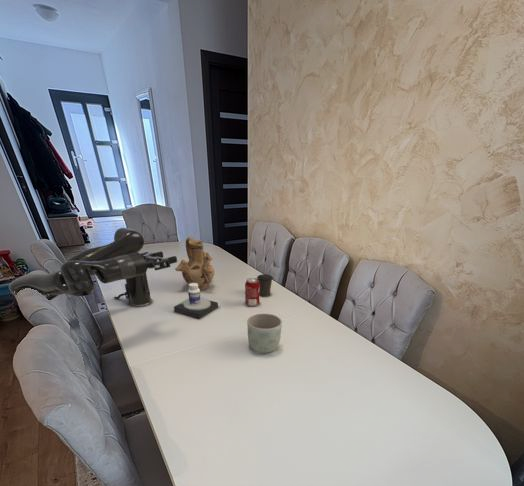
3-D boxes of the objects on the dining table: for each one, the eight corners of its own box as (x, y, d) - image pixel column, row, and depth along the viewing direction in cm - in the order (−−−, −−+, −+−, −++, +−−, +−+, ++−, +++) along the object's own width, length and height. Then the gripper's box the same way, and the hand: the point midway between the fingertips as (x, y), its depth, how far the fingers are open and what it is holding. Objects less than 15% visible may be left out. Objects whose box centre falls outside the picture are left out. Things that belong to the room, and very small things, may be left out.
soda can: (257, 307, 144) (258, 283, 137) (243, 306, 145) (243, 281, 138) (260, 302, 149) (261, 278, 143) (247, 300, 150) (247, 276, 144)
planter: (242, 341, 118) (242, 316, 112) (271, 336, 122) (273, 311, 116) (254, 358, 108) (255, 331, 102) (285, 351, 112) (288, 325, 106)
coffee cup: (253, 294, 157) (253, 275, 152) (263, 290, 162) (264, 271, 157) (264, 298, 153) (265, 279, 147) (275, 294, 158) (276, 275, 152)
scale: (174, 311, 138) (173, 305, 136) (194, 300, 149) (193, 294, 147) (199, 319, 133) (198, 312, 131) (218, 307, 143) (217, 300, 141)
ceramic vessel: (177, 293, 156) (171, 242, 142) (186, 280, 172) (181, 233, 158) (213, 294, 156) (210, 244, 142) (218, 281, 172) (216, 235, 158)
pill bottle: (190, 300, 141) (188, 282, 136) (201, 300, 141) (200, 282, 136) (188, 305, 136) (186, 286, 131) (200, 305, 137) (198, 286, 132)
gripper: (120, 272, 109) (159, 262, 120) (142, 282, 102) (182, 270, 112) (115, 250, 105) (156, 242, 116) (137, 259, 97) (179, 250, 108)
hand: (169, 256), depth 114 cm, fingers open, 8 cm apart
